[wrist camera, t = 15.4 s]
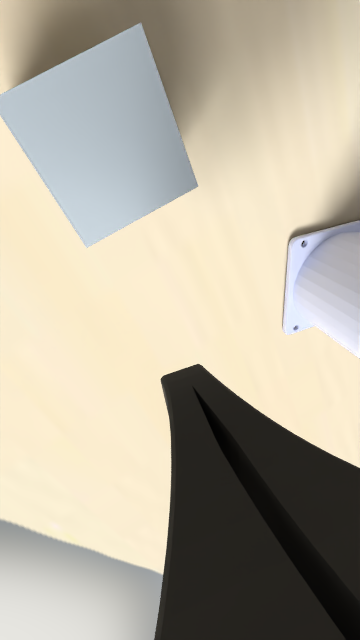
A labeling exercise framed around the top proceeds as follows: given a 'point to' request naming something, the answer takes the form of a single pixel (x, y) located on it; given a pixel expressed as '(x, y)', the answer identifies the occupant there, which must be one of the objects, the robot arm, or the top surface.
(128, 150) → the slate-grey cube
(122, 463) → the top surface
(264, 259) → the top surface
